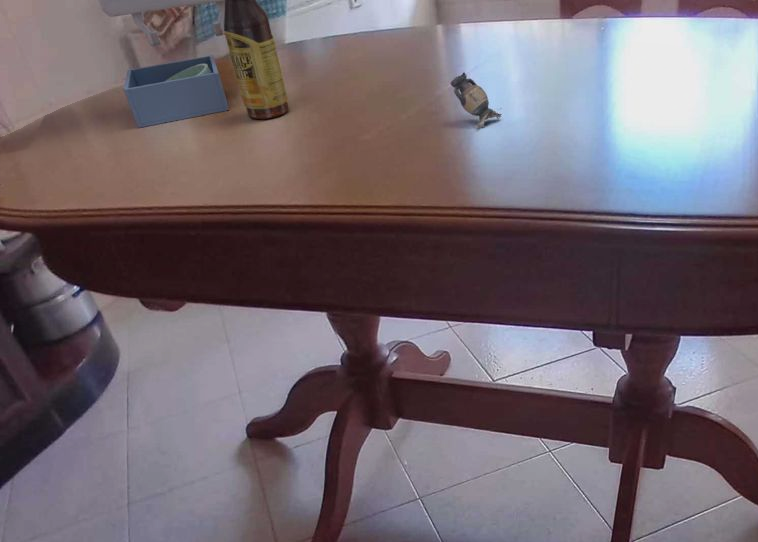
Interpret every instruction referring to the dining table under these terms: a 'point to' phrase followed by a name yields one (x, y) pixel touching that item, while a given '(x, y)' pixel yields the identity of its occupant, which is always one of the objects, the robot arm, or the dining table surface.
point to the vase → (473, 99)
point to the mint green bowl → (192, 72)
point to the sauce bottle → (255, 59)
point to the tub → (173, 92)
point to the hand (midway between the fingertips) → (188, 39)
